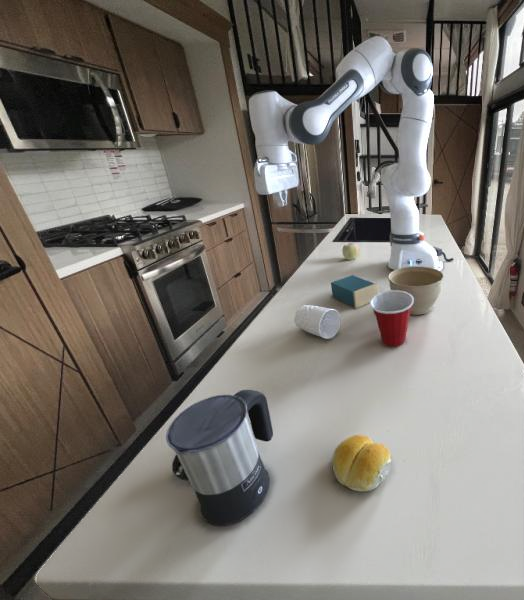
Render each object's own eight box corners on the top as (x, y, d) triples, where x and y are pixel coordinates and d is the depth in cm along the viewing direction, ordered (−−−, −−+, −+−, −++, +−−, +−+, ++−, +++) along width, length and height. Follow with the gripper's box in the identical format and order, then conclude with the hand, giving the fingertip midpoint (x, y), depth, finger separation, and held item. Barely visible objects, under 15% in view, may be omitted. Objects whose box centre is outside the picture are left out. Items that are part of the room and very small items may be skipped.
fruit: (358, 261, 140) (357, 243, 137) (342, 261, 140) (340, 243, 137) (361, 255, 147) (359, 238, 144) (344, 256, 147) (343, 238, 144)
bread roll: (355, 436, 56) (353, 419, 54) (398, 461, 52) (398, 443, 50) (321, 473, 50) (317, 455, 48) (366, 504, 45) (364, 486, 44)
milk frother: (258, 525, 43) (231, 447, 37) (135, 536, 42) (85, 458, 36) (284, 438, 56) (267, 369, 50) (190, 445, 55) (160, 376, 49)
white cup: (318, 315, 93) (344, 322, 88) (301, 336, 89) (328, 345, 84) (306, 296, 88) (333, 302, 83) (287, 317, 84) (314, 325, 79)
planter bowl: (419, 292, 109) (419, 262, 105) (453, 310, 98) (455, 276, 93) (379, 306, 101) (377, 273, 96) (411, 327, 89) (410, 291, 84)
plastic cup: (363, 343, 82) (359, 301, 77) (389, 326, 90) (388, 286, 85) (396, 358, 76) (395, 314, 71) (422, 338, 84) (422, 296, 79)
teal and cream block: (330, 282, 106) (354, 292, 98) (352, 274, 112) (377, 283, 104) (332, 297, 108) (356, 308, 100) (354, 288, 114) (378, 298, 106)
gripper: (265, 158, 84) (275, 212, 90) (299, 155, 102) (305, 200, 108) (243, 158, 85) (254, 212, 91) (280, 155, 103) (287, 200, 109)
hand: (282, 206), depth 99 cm, fingers closed
